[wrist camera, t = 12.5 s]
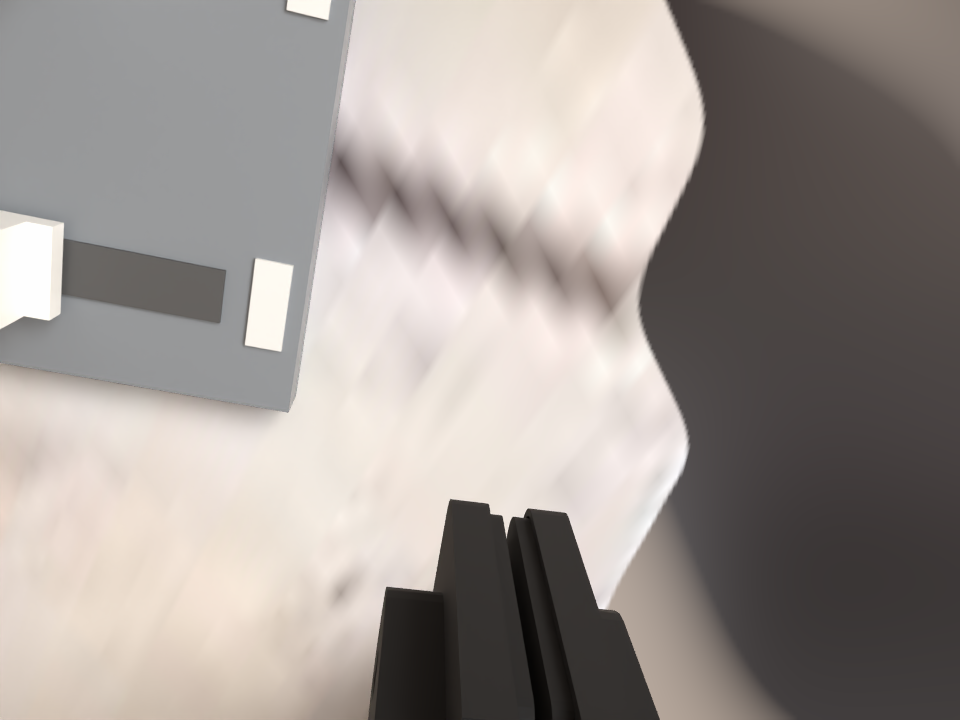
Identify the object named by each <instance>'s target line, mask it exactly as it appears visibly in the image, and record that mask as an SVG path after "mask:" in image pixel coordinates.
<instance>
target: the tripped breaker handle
mask: <svg viewBox="0 0 960 720" xmlns="http://www.w3.org/2000/svg"><path fill="white" fill-rule="evenodd" d="M63 235H64V223H63V222H58V221H52V220H47V219H42V218H37V217H32V216H27V215H22V214H17V213H12V212H7V211H2V210H0V329H2V328H3V327H5V326H7V325H9V324H11V323H12V322H14V321H16V320H18V319H20V318H21V317H23V316H26V317H32V318H37V319H43V320H48V321H49V320H51V319H53V318H54V317H56V316H58V315H59V314H60V312H61V286H62V260H63Z"/></svg>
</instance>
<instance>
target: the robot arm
mask: <svg viewBox="0 0 960 720" xmlns="http://www.w3.org/2000/svg"><path fill="white" fill-rule="evenodd" d="M368 720H660V719H659V716H658V714H657V711H656V708H655V705H654V703H653V700H652V697H651V694H650V692H649V689H648V686H647V683H646V681H645V678H644V675H643V673H642V670H641V668H640V664H639V662H638V659H637V657H636V654H635V651H634V648H633V646H632V643H631V640H630V637H629V635H628V632H627V629H626V627H625V624H624V621H623V620H622V617H621V616H620V614H619V613H618V612H616V611H613V610H604V609H598V606H597V603H596V600H595V597H594V594H593V591H592V588H591V585H590V582H589V579H588V576H587V573H586V570H585V567H584V564H583V561H582V557H581V554H580V551H579V548H578V545H577V542H576V539H575V536H574V533H573V530H572V527H571V524H570V521H569V518H568V516H567V514H566V513H562V512H554V511H545V510H537V509H527V510H526V513H525V515H524V518H519V517H512V519H511V521H510V525H509V529H508V534H507V539H506V534H505V528H504V522H503V517H502V516H501V515H493V514H490V508H489V504H486V503H478V502H469V501H461V500H452V499H450V501H449V505H448V509H447V515H446V520H445V526H444V532H443V538H442V543H441V549H440V555H439V560H438V566H437V572H436V578H435V583H434V589H433V592H431V591H422V590H412V589H403V588H393V587H386V591H385V597H384V603H383V609H382V616H381V623H380V629H379V636H378V643H377V650H376V658H375V665H374V673H373V681H372V690H371V699H370V708H369V717H368Z"/></svg>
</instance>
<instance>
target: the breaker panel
mask: <svg viewBox="0 0 960 720" xmlns="http://www.w3.org/2000/svg"><path fill="white" fill-rule="evenodd" d="M354 7H355V0H0V210H2V211H7V212H12V213H17V214H22V215H27V216H32V217H37V218H42V219H47V220H52V221H58V222H63V223H64V235H63V260H62V286H61V312H60V314H59V315H58V316H56V317H54V318H53V319H51V320H49V321H48V320H43V319H37V318H32V317H26V316H23V317H21V318H20V319H18V320H16V321H14V322H12V323H11V324H9V325H7V326H5V327H3V328H2V329H0V363H4V364H10V365H16V366H21V367H27V368H33V369H39V370H45V371H50V372H56V373H62V374H68V375H73V376H79V377H85V378H91V379H97V380H102V381H108V382H114V383H120V384H126V385H131V386H137V387H143V388H149V389H155V390H160V391H166V392H172V393H178V394H184V395H189V396H195V397H201V398H207V399H213V400H218V401H224V402H230V403H236V404H242V405H247V406H253V407H259V408H265V409H271V410H276V411H282V412H289V410H290V408H291V405H292V403H293V401H294V399H295V396H296V391H297V384H298V377H299V371H300V364H301V357H302V351H303V344H304V338H305V331H306V324H307V318H308V311H309V305H310V298H311V291H312V285H313V278H314V271H315V265H316V258H317V252H318V245H319V238H320V232H321V225H322V219H323V212H324V205H325V199H326V192H327V185H328V179H329V172H330V166H331V159H332V152H333V146H334V139H335V133H336V126H337V119H338V113H339V106H340V99H341V93H342V86H343V80H344V73H345V66H346V60H347V53H348V47H349V40H350V33H351V27H352V20H353V13H354Z"/></svg>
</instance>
